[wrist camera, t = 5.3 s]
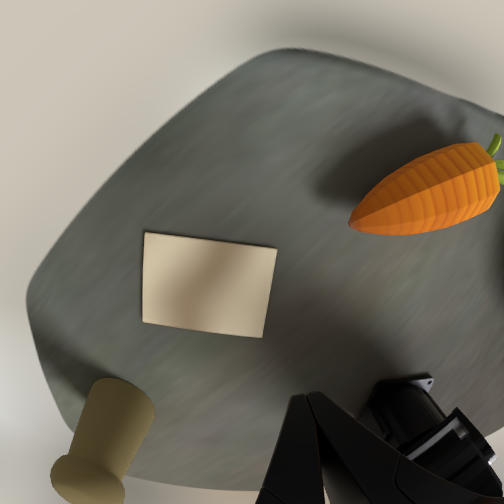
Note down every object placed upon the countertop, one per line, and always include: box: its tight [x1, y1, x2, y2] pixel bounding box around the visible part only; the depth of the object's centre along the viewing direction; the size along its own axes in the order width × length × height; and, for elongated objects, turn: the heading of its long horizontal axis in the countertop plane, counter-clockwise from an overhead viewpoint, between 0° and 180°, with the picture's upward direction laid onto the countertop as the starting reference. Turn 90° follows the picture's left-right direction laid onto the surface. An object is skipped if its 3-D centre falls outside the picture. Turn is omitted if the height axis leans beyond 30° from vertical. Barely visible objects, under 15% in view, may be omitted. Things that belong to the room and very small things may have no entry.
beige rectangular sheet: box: [143, 232, 277, 338], centre depth 18 cm, size 8×6×1 cm
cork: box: [50, 378, 155, 504], centre depth 15 cm, size 6×6×11 cm
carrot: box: [348, 133, 504, 235], centre depth 15 cm, size 5×5×15 cm
